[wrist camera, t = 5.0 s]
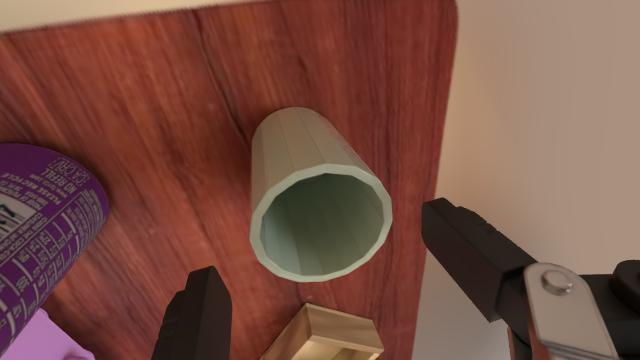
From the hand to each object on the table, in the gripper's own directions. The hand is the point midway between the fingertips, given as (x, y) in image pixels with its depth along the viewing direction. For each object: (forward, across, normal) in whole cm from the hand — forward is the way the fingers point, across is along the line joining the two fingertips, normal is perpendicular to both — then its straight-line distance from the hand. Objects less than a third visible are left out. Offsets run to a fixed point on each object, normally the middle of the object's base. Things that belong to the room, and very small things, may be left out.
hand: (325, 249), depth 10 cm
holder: (+10, +5, +26) cm, 28 cm away
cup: (+10, 0, 0) cm, 10 cm away
